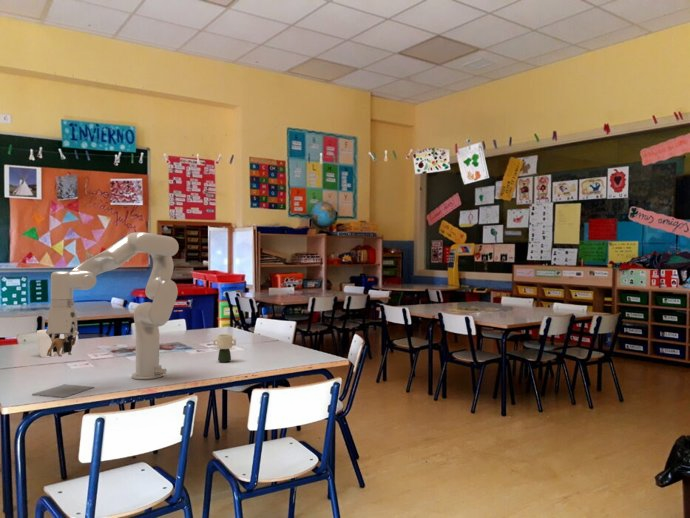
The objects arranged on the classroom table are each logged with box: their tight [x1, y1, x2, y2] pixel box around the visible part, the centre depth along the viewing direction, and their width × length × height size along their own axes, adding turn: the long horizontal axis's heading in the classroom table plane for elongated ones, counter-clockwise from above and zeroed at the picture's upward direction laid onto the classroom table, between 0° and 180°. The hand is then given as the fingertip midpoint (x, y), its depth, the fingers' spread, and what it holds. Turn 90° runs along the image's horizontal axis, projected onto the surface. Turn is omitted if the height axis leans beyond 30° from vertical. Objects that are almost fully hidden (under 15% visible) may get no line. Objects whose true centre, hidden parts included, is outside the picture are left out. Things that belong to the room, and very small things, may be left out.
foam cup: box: [36, 328, 56, 358], centre depth 285 cm, size 10×9×13 cm
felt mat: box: [31, 384, 95, 399], centre depth 214 cm, size 14×16×1 cm
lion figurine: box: [47, 333, 77, 358], centre depth 214 cm, size 15×5×9 cm, turn 179°
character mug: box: [212, 333, 237, 363], centre depth 273 cm, size 11×7×13 cm, turn 93°
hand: (62, 351), depth 214 cm, fingers closed on lion figurine, 4 cm apart
